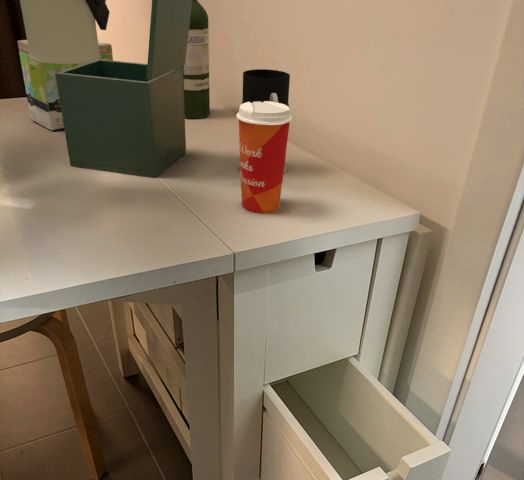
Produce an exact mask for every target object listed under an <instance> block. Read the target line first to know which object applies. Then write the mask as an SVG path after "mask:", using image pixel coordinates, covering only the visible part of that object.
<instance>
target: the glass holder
mask: <svg viewBox="0 0 524 480" xmlns="http://www.w3.org/2000/svg"><path fill="white" fill-rule="evenodd" d="M290 81H291V74H290V73H288V72H286V71H282V70H277V69H266V68H263V69H261V68H257V69H248V70H244V71H243V72H242V101H241V104H243V103H246V102H250V103H253V102H257V101H261V102H264V101H269V102H277V103H281V104H284V105H287V106H288V107H289V108H290V103H289V99H290V97H289V96H290ZM241 104H240V105H241ZM286 157H287V155H286V156H285V165H284V173H283V175H284V174H286V173H287V172H288V166H287V162H286V160H287V159H286ZM237 170H238V171H239V172H241V171H240V161H239V162H238V165H237Z"/></svg>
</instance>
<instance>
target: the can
mask: <svg viewBox="0 0 524 480" xmlns="http://www.w3.org/2000/svg"><path fill="white" fill-rule="evenodd" d="M20 4H21V7H20V9H21V13H22V19H23V26H24V31H25V36H26V40H27V42H28V49H29V58H30V59H31V60H34V61H37V62H42V63H51V64H80V63H88V62H93V61H97V60H99V59H100V58H101V54H100V51H99V45H98V40H99V39H98V31H97V22H96V20H95V18H94V16H93V14H92V12H91V10H90V8H89V6H88V4H87V2H86V0H20Z"/></svg>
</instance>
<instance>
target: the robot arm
mask: <svg viewBox="0 0 524 480" xmlns="http://www.w3.org/2000/svg"><path fill="white" fill-rule="evenodd" d="M13 1H14V2H15V1H16V2H17V4H18V5H19V7H20V8H21V4H20V0H13ZM86 2H87V4H88V6H89V8H90V10H91V12H92V14H93V16H94V18H95V22H96V25H97V26H98V28H99V29H100V30H101V31H107V27H108V22H109V17H110V10H109V8H108V5H107V0H86Z"/></svg>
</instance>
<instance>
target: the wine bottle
mask: <svg viewBox="0 0 524 480" xmlns="http://www.w3.org/2000/svg"><path fill="white" fill-rule="evenodd" d="M209 29H210V28H209V15H208V13H207V11H206V9H205V8H204V6H203V5H202V4H201V3H200V2H199V1H198V0H192V7H191V15H190V24H189V33H188V42H187V51H186V60H185V65H184V66H181V67H182V68H183V88H184V113H185V120H186V119H187V120H199V119H200V120H201V119H204V118H207V117H209V115H210V114H211V109H210V108H211V107H210V105H211V104H210V103H211V101H210V41H209V40H210V39H209V36H210V35H209V31H210V30H209Z"/></svg>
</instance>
